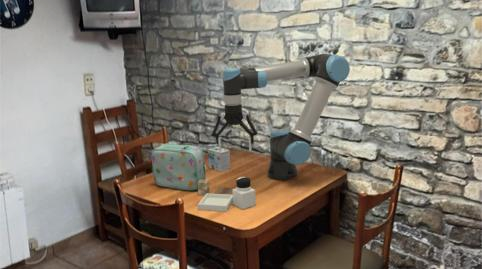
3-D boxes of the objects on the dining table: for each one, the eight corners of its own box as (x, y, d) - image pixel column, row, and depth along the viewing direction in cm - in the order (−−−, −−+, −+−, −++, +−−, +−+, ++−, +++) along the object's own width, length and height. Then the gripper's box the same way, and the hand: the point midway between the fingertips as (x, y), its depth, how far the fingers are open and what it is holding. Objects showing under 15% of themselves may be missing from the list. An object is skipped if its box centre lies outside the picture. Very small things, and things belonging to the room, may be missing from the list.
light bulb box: (208, 168, 244) (207, 148, 241) (218, 165, 248) (217, 146, 246) (221, 172, 236) (220, 152, 234) (231, 169, 241) (230, 149, 238)
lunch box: (210, 186, 217) (208, 143, 212) (200, 193, 208) (197, 148, 203) (163, 180, 228) (160, 139, 222) (152, 187, 218) (148, 144, 213)
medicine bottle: (256, 205, 191) (255, 178, 189) (242, 209, 187) (241, 182, 185) (246, 200, 197) (245, 174, 194) (232, 204, 193) (231, 178, 190)
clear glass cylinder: (209, 192, 209) (208, 180, 207) (206, 195, 205) (206, 182, 203) (201, 191, 210) (200, 179, 208) (198, 195, 206) (197, 182, 204)
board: (239, 193, 207) (239, 188, 207) (235, 199, 200) (235, 194, 199) (219, 192, 210) (218, 187, 209) (214, 198, 202) (213, 193, 202)
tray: (234, 200, 198) (233, 194, 198) (226, 211, 186) (226, 205, 186) (206, 198, 201) (206, 193, 200) (197, 209, 189) (197, 204, 189)
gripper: (262, 101, 199) (263, 148, 204) (206, 103, 202) (209, 148, 207) (260, 104, 191) (262, 152, 196) (203, 106, 194) (206, 153, 200)
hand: (235, 150), depth 202 cm, fingers open, 13 cm apart
